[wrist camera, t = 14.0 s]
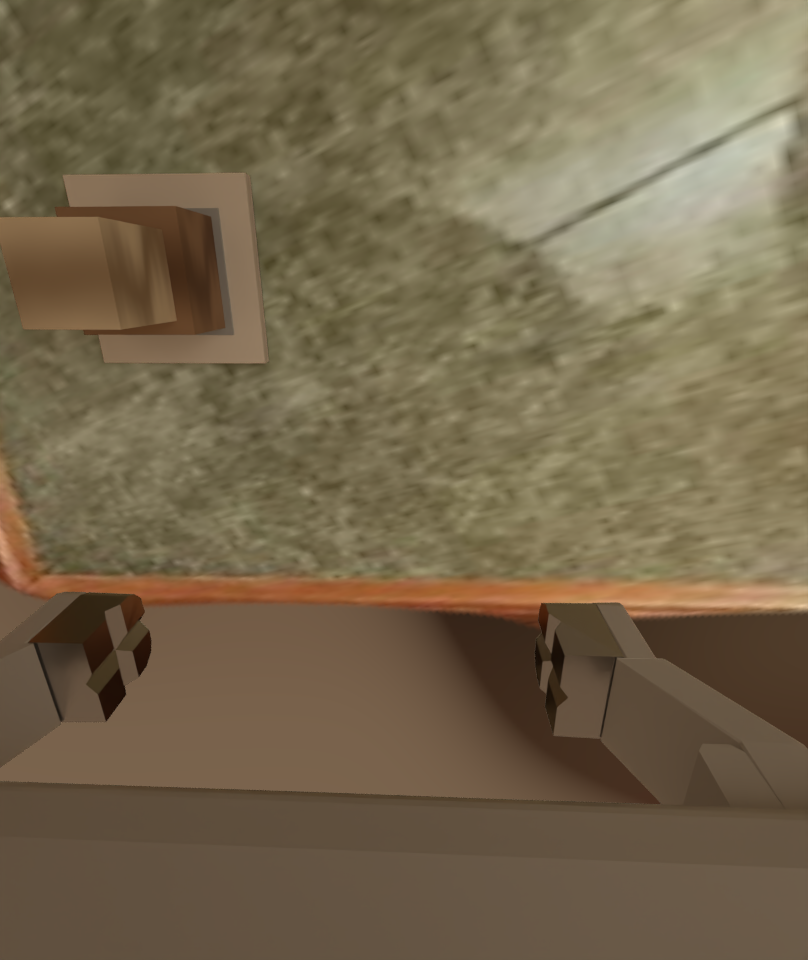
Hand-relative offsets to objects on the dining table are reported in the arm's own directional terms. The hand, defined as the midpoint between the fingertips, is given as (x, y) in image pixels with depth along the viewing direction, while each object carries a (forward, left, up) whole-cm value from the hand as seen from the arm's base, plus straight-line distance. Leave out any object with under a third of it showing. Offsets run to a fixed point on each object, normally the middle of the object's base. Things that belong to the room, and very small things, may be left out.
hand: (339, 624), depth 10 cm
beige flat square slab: (-7, -16, -29) cm, 34 cm away
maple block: (-7, -16, -23) cm, 29 cm away
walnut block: (-7, -16, -28) cm, 33 cm away
